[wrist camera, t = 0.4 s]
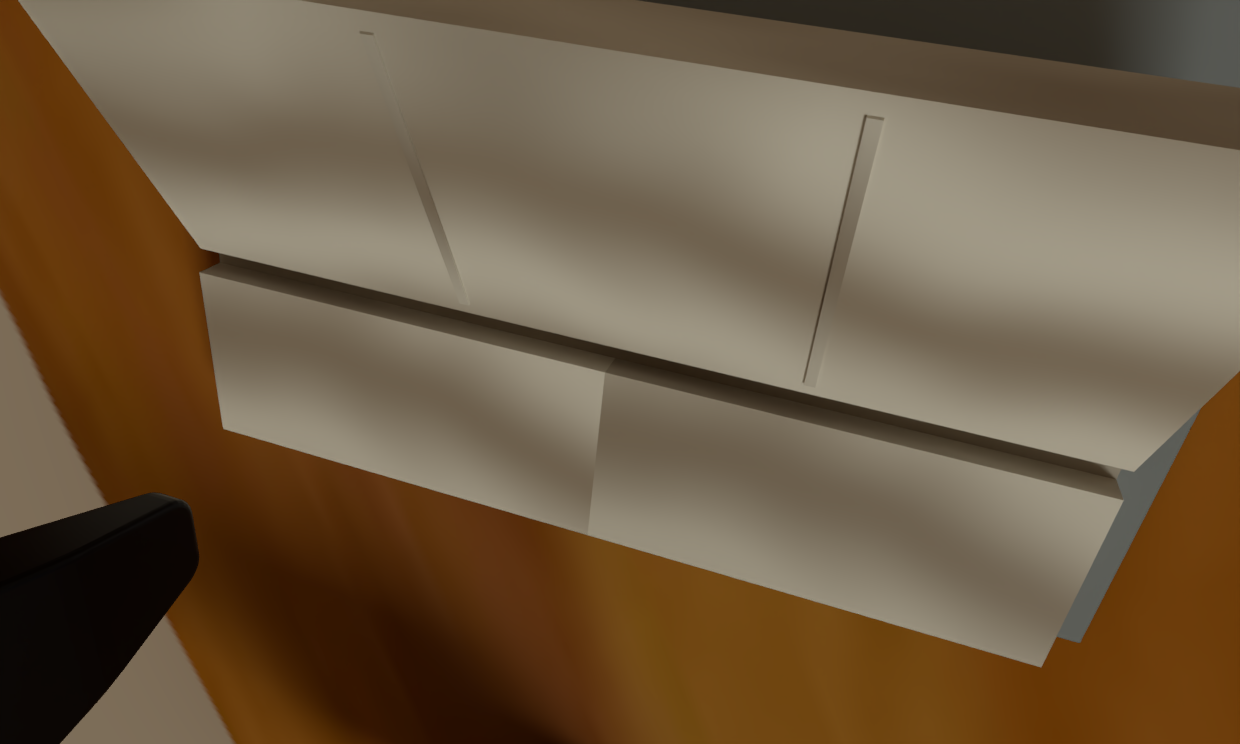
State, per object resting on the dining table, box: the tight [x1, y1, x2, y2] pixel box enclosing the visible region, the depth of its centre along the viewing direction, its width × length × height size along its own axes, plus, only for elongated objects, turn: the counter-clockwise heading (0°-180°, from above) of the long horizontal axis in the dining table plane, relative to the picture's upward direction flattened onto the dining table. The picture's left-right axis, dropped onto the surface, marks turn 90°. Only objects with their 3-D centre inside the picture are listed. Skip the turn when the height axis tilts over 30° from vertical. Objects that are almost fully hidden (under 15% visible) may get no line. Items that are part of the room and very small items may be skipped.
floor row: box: [199, 253, 1124, 667], centre depth 21 cm, size 5×22×1 cm, turn 84°
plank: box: [18, 0, 1240, 472], centre depth 16 cm, size 8×22×1 cm, turn 85°
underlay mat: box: [638, 0, 1240, 643], centre depth 19 cm, size 15×23×1 cm, turn 84°
